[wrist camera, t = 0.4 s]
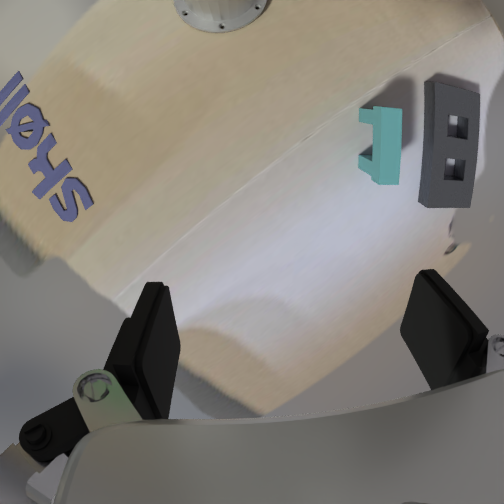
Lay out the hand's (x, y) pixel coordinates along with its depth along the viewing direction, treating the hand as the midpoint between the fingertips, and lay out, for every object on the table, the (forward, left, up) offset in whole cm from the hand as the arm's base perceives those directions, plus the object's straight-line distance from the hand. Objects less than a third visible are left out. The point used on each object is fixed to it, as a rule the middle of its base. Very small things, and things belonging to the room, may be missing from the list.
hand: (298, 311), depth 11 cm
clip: (-2, +17, -34) cm, 38 cm away
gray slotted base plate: (-2, +32, -34) cm, 47 cm away
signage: (-6, -35, -35) cm, 50 cm away
